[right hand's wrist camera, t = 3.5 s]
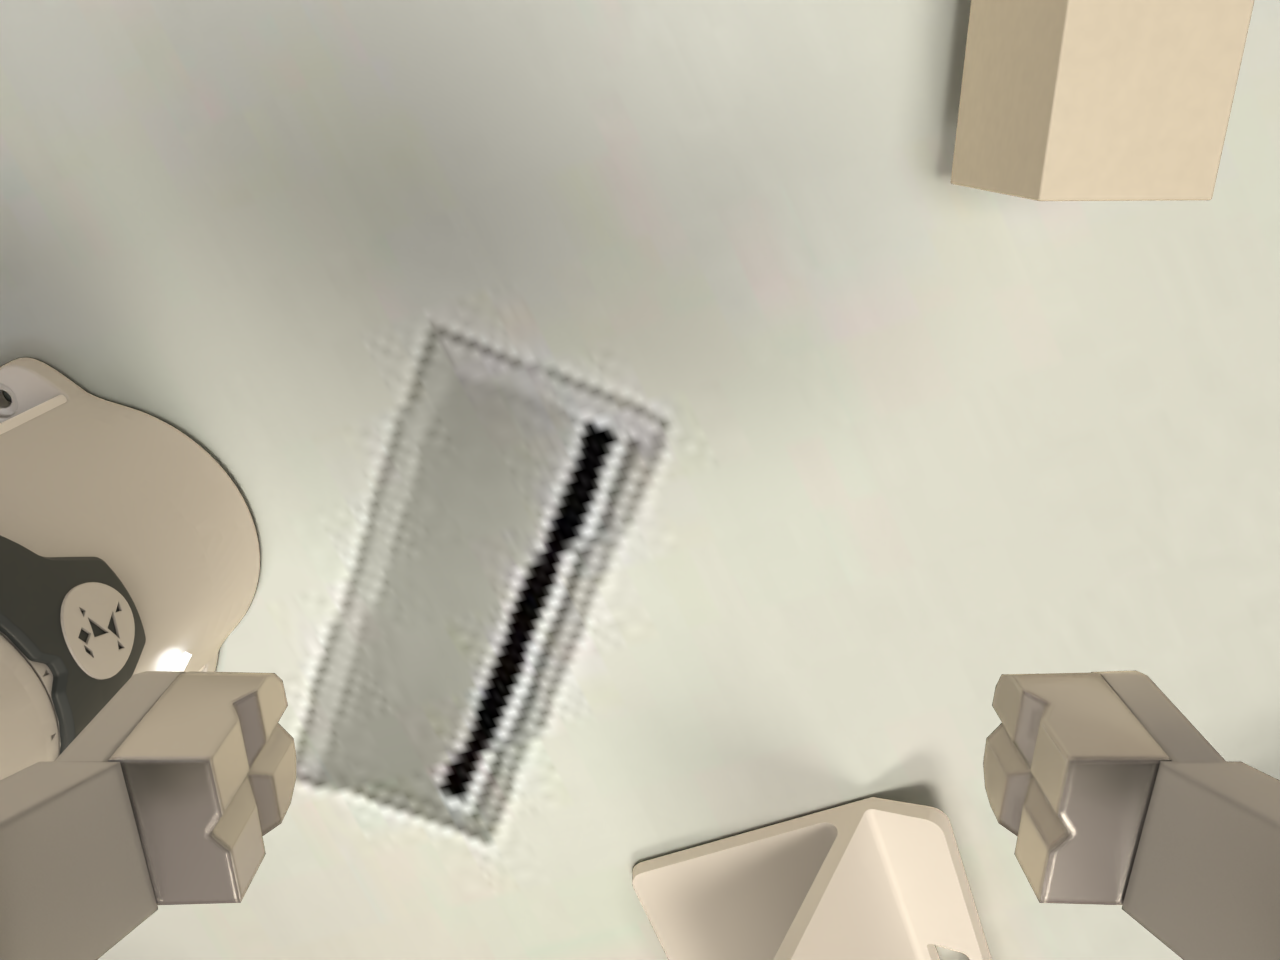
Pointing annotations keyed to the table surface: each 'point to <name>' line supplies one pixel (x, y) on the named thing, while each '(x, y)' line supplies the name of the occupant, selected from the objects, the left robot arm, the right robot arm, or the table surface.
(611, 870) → the table surface
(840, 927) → the tablet stand
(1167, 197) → the bar
